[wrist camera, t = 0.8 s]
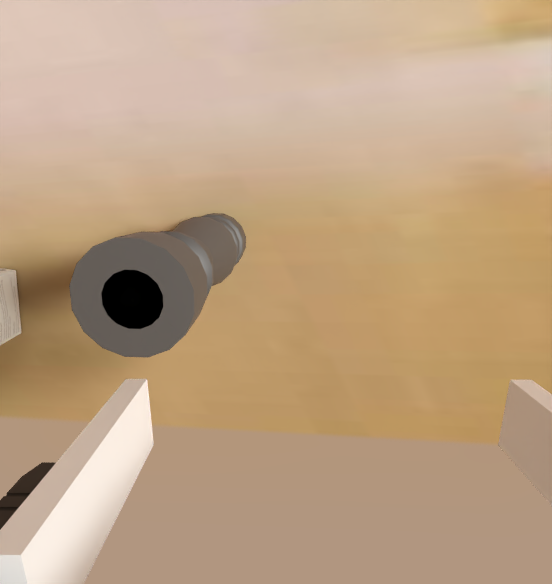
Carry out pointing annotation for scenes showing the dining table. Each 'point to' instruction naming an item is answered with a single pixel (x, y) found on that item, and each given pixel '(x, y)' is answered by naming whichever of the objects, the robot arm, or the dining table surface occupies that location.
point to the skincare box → (9, 306)
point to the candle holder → (153, 283)
